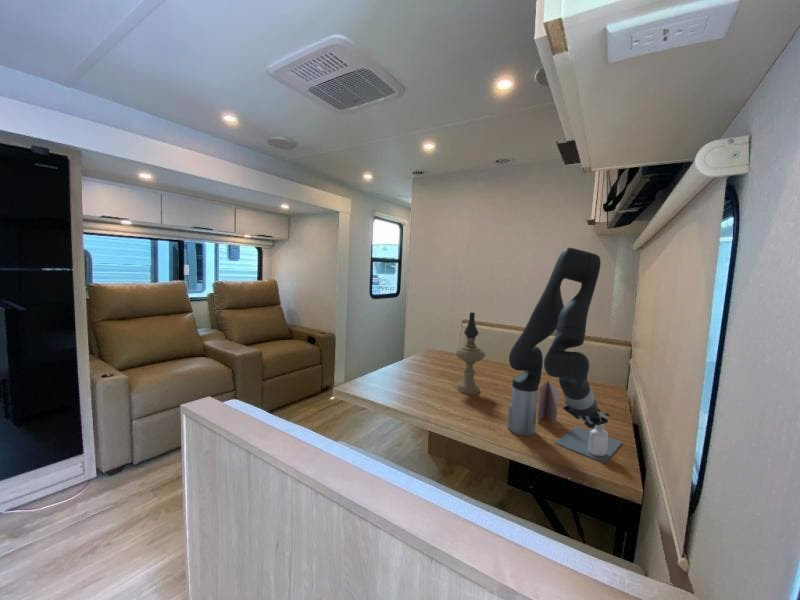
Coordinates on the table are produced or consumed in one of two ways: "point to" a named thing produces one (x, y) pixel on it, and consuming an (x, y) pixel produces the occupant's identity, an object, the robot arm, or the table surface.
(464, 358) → the oil lamp
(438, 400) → the table surface
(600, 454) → the eye dropper bottle
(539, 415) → the greeting card
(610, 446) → the mat
